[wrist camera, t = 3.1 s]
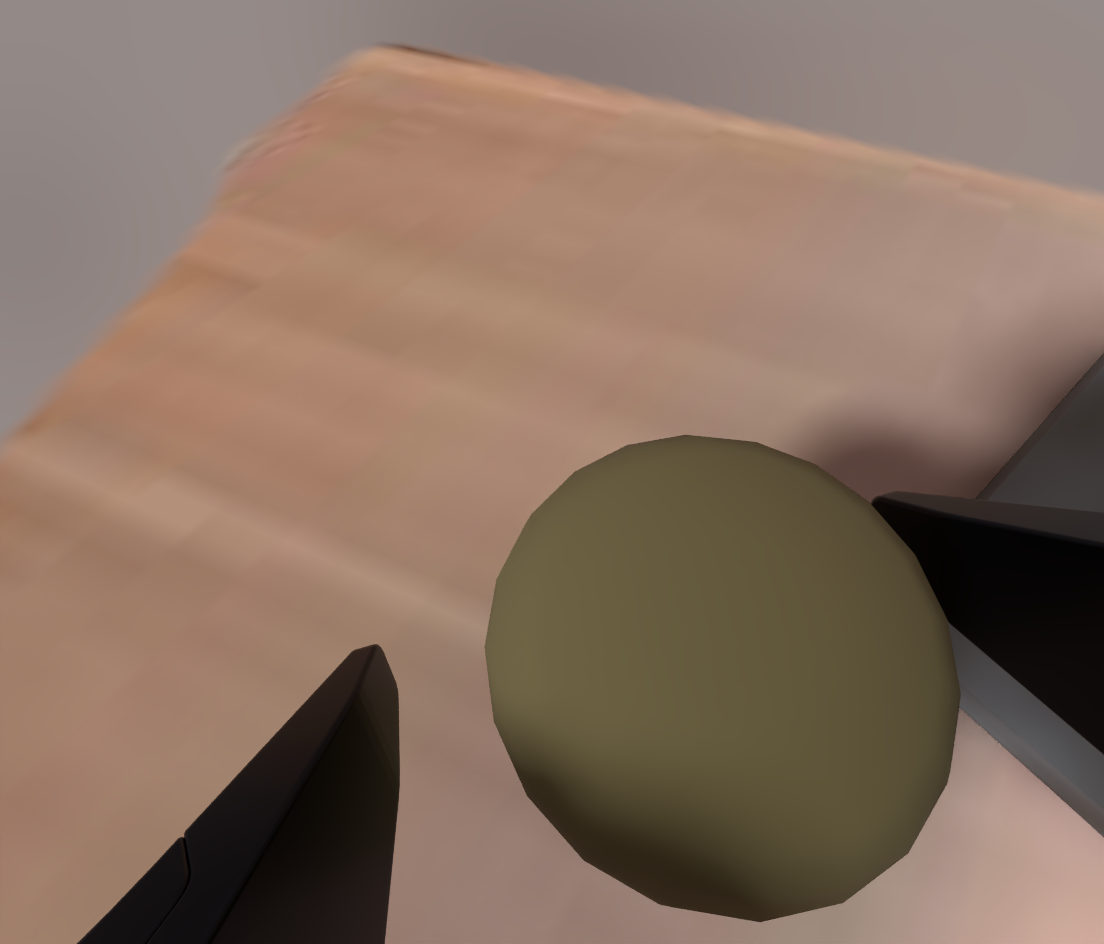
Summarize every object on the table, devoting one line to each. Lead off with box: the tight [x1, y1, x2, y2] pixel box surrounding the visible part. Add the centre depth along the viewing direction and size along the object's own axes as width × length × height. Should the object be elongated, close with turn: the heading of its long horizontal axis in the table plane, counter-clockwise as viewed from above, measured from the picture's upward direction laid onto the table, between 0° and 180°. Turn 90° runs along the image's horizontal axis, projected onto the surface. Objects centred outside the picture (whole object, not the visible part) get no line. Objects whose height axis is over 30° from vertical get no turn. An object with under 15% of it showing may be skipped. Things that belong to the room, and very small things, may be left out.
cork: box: [485, 435, 961, 922], centre depth 10 cm, size 6×6×11 cm
